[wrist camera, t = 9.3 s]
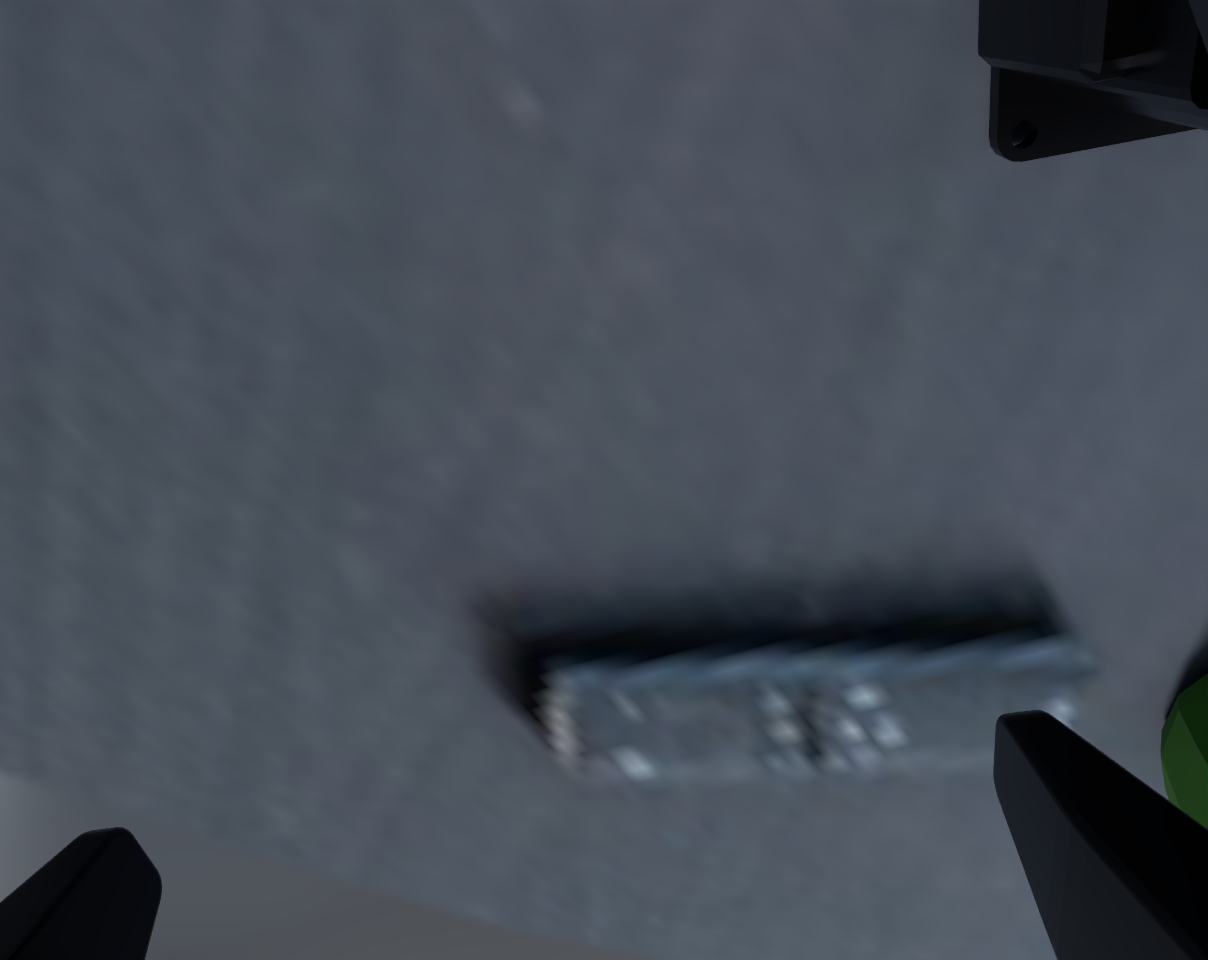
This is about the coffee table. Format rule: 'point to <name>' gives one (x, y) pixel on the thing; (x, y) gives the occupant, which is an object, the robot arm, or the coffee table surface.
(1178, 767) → the bell pepper
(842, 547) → the coffee table surface
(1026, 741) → the robot arm
